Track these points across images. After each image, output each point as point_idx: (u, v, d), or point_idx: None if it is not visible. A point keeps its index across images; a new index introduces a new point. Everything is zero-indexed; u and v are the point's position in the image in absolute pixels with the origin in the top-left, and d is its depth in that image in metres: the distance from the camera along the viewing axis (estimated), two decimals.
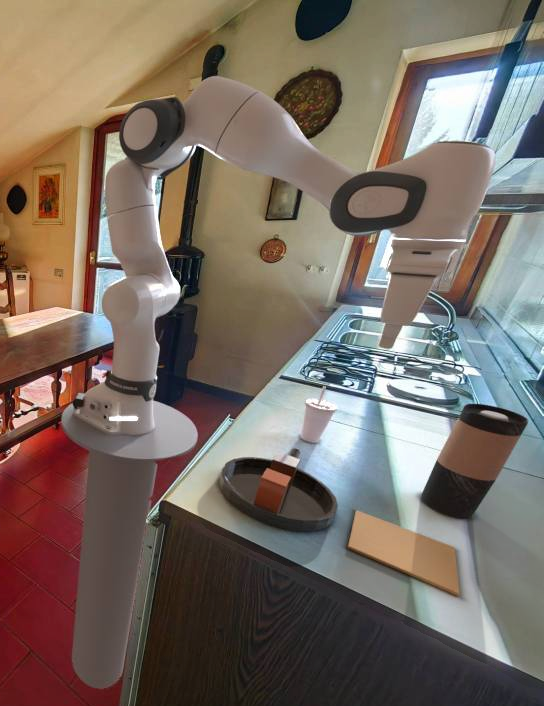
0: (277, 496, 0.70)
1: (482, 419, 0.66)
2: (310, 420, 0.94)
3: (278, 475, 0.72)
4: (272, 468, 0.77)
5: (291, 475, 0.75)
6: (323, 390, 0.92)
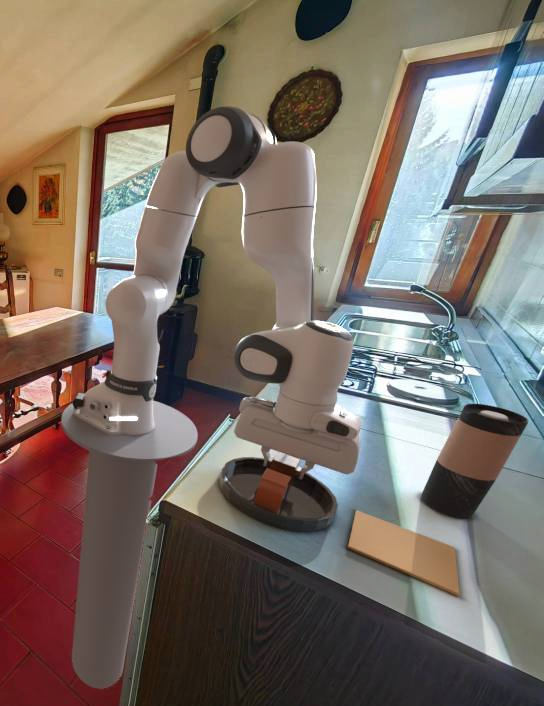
0: (277, 496, 0.70)
1: (482, 419, 0.66)
2: None
3: (278, 475, 0.72)
4: (272, 468, 0.77)
5: (291, 475, 0.75)
6: None
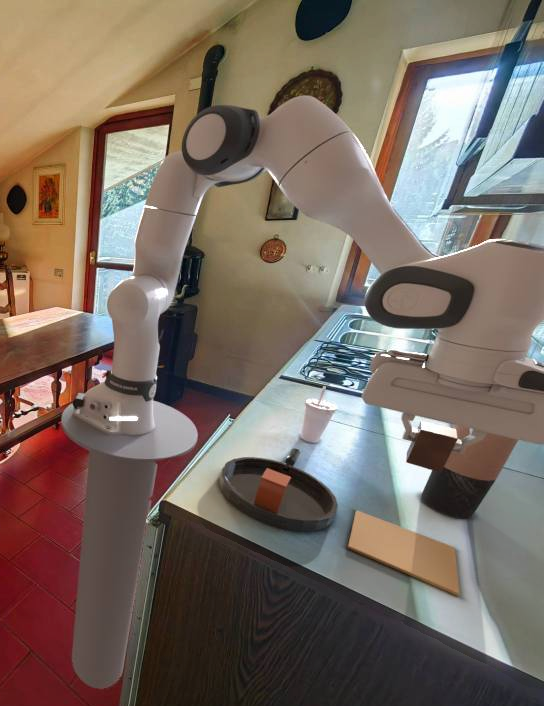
0: (277, 496, 0.70)
1: None
2: (310, 420, 0.94)
3: (278, 475, 0.72)
4: (419, 441, 0.60)
5: (449, 449, 0.58)
6: (323, 390, 0.92)
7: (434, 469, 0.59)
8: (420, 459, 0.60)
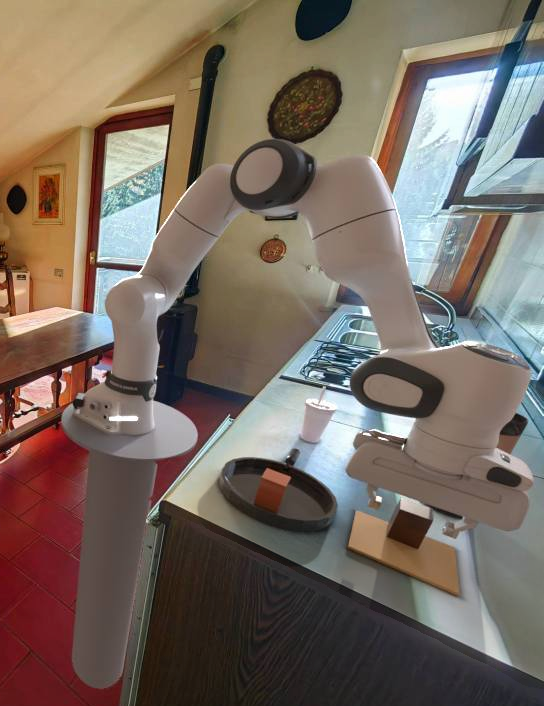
0: (277, 496, 0.70)
1: None
2: (310, 420, 0.94)
3: (278, 475, 0.72)
4: (398, 519, 0.64)
5: (425, 529, 0.62)
6: (323, 390, 0.92)
7: (412, 545, 0.64)
8: (399, 535, 0.65)
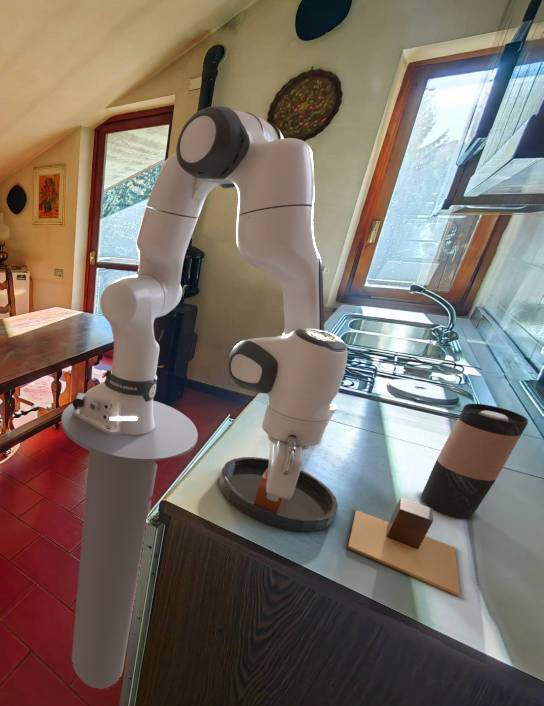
0: None
1: (482, 419, 0.66)
2: None
3: None
4: (398, 519, 0.64)
5: (425, 529, 0.62)
6: None
7: (412, 545, 0.64)
8: (399, 535, 0.65)
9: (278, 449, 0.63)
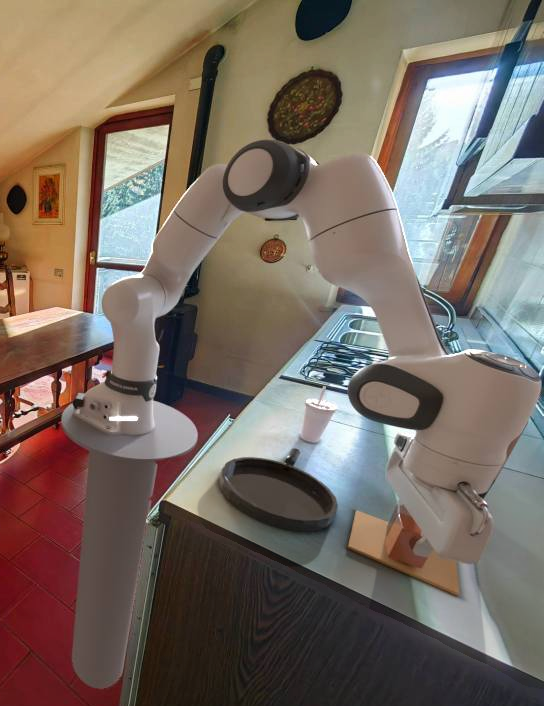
0: None
1: None
2: (310, 420, 0.94)
3: None
4: None
5: None
6: (323, 390, 0.92)
7: None
8: None
9: (453, 502, 0.51)
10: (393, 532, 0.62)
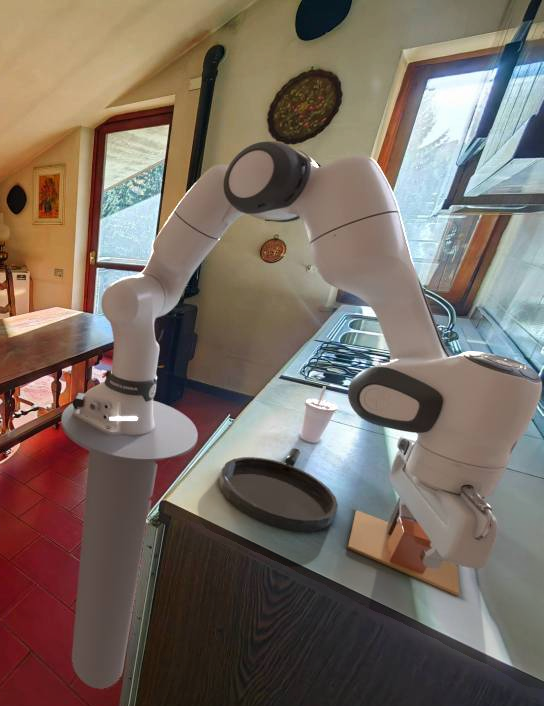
0: None
1: None
2: (310, 420, 0.94)
3: (419, 527, 0.60)
4: None
5: None
6: (323, 390, 0.92)
7: None
8: None
9: (457, 505, 0.50)
10: (394, 537, 0.62)
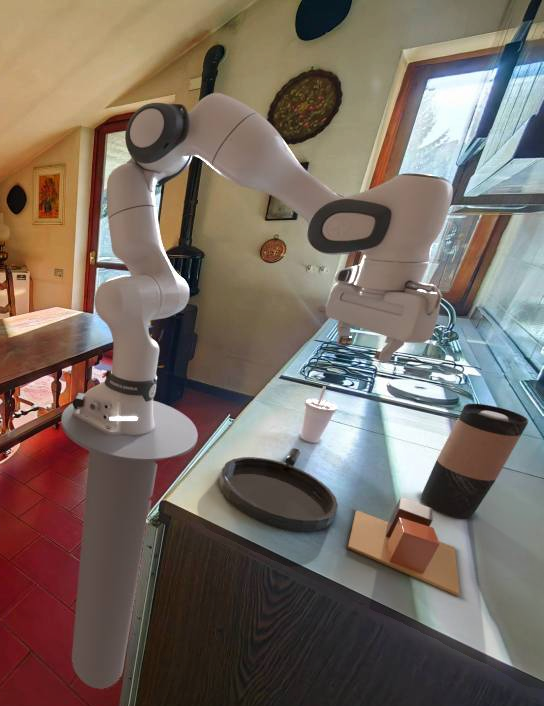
0: (425, 555, 0.58)
1: (482, 419, 0.66)
2: (310, 420, 0.94)
3: (419, 527, 0.60)
4: (398, 518, 0.64)
5: None
6: (323, 390, 0.92)
7: None
8: None
9: (409, 295, 0.63)
10: (394, 537, 0.62)
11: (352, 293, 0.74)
